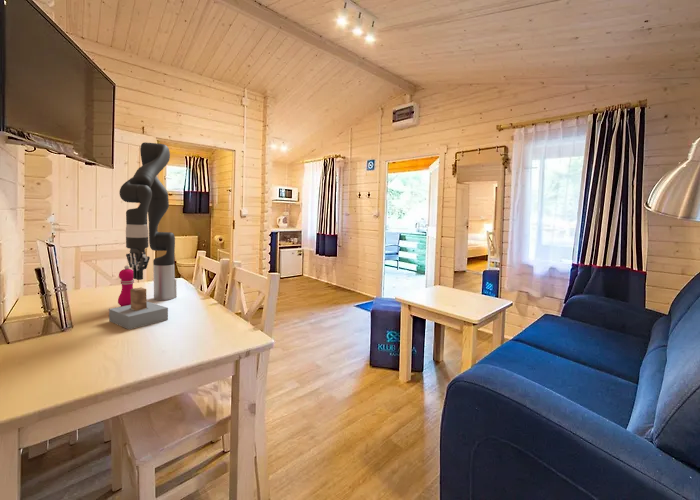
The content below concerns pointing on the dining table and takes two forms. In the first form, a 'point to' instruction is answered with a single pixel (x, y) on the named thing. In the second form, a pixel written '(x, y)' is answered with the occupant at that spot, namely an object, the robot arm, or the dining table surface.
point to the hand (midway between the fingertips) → (138, 279)
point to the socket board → (138, 315)
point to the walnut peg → (138, 299)
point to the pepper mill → (126, 286)
